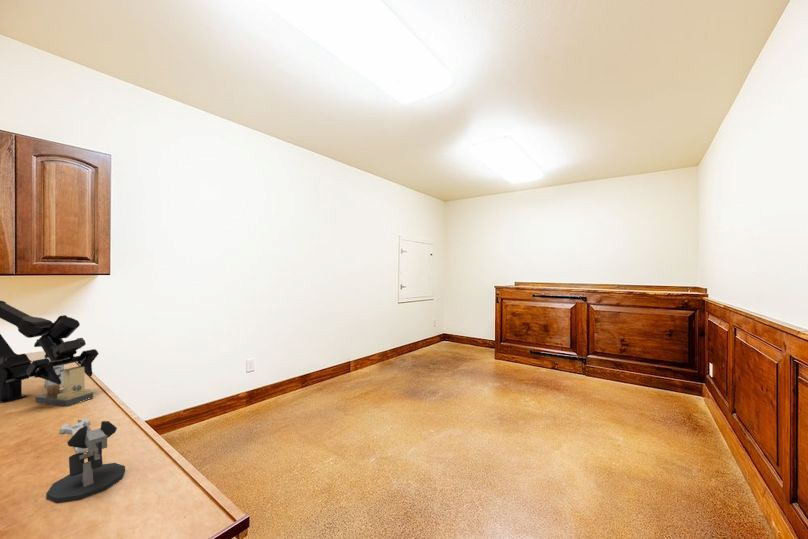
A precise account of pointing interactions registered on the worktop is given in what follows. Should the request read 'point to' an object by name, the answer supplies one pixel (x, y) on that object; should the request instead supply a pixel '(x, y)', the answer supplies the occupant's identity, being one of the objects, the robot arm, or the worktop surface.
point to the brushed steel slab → (52, 399)
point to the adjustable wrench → (73, 429)
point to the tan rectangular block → (73, 383)
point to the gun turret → (87, 466)
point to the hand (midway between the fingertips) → (76, 379)
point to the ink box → (59, 372)
